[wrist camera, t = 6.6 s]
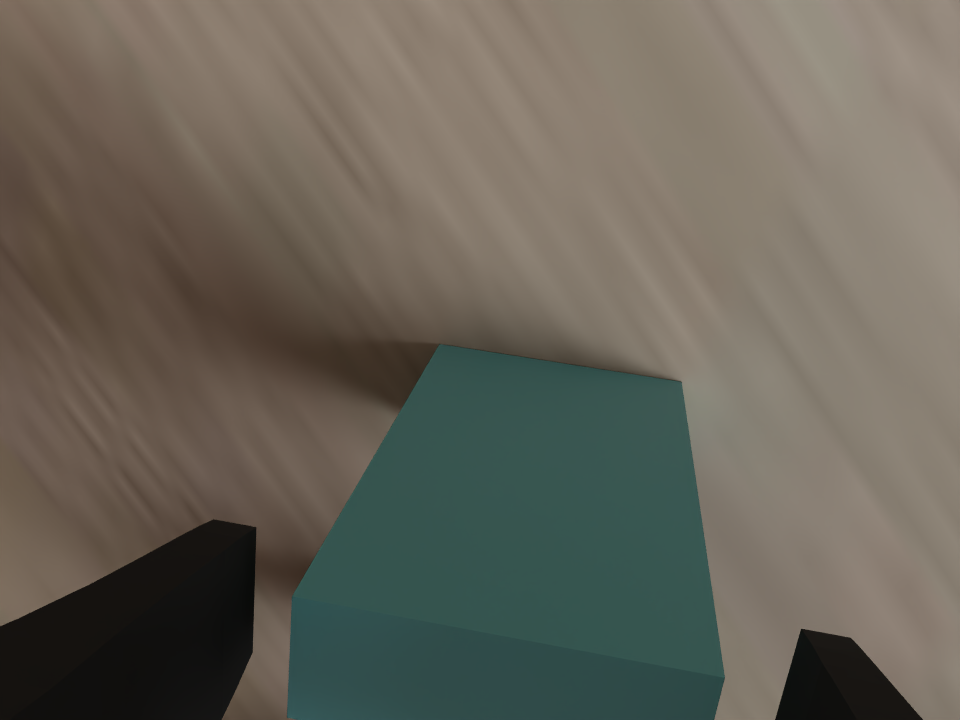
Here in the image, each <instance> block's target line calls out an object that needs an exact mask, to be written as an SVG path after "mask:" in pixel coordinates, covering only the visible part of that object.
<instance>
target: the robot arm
mask: <svg viewBox="0 0 960 720" xmlns="http://www.w3.org/2000/svg"><path fill="white" fill-rule="evenodd" d="M255 553H256V527H251V526H246V525H241V524H235V523H230V522H225V521H219V520H214V519H213V520H211V521H209V522H207V523H205V524H203V525H201V526H199V527H197V528H195V529H193V530H191V531H189V532H187V533H185V534H183V535H181V536H179V537H178V538H176V539H174V540H172V541H170V542H168V543H166V544H165V545H163V546H161V547H159V548H157V549H155V550H154V551H152V552H150V553H148V554H146V555H144V556H143V557H141V558H139V559H137V560H135V561H133V562H131V563H129V564H128V565H126V566H124V567H122V568H120V569H118V570H116V571H114V572H112V573H111V574H109V575H107V576H105V577H103V578H101V579H99V580H97V581H95V582H94V583H92V584H90V585H88V586H86V587H83V588H81V589H79V590H77V591H75V592H73V593H71V594H69V595H67V596H65V597H63V598H60V599H58V600H56V601H54V602H52V603H50V604H48V605H46V606H44V607H42V608H39V609H37V610H35V611H33V612H31V613H29V614H27V615H25V616H23V617H21V618H19V619H16V620H14V621H12V622H9V623H7V624H5V625H2V626H0V720H222V718H223V716H224V714H225V711H226V709H227V707H228V705H229V703H230V701H231V699H232V697H233V695H234V693H235V690H236V688H237V686H238V684H239V682H240V679H241V677H242V675H243V673H244V670H245V668H246V666H247V664H248V661H249V659H250V657H251V655H252V652H253V622H254V588H255ZM775 720H923V719H922V718H921V717H920V716H919V715H918V714H917V712H916V711H915V710H914V709H913V708H912V707H911V706H910V704H909V703H908V702H907V701H906V700H905V699H904V697H903V696H902V695H901V694H900V693H899V692H898V691H897V689H896V688H895V687H894V686H893V685H892V684H891V682H890V681H889V680H888V679H887V678H886V677H885V675H884V674H883V673H882V672H881V671H880V670H879V669H878V667H877V666H876V665H875V664H874V663H873V662H872V660H871V659H870V658H869V657H868V656H867V655H866V654H865V653H864V651H863V650H862V649H861V648H860V647H859V646H858V645H857V644H856V643H855V642H854V641H853V640H852V639H851V638H848V637H843V636H838V635H832V634H827V633H822V632H816V631H811V630H805V629H801V631H800V635H799V638H798V642H797V645H796V649H795V652H794V656H793V659H792V663H791V666H790V670H789V673H788V677H787V680H786V684H785V687H784V691H783V694H782V698H781V701H780V705H779V708H778V712H777V715H776V719H775Z"/></svg>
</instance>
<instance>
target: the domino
mask: <svg viewBox="0 0 960 720" xmlns="http://www.w3.org/2000/svg"><path fill="white" fill-rule="evenodd" d="M724 679H725V676H724V669H723V662H722V655H721V648H720V641H719V635H718V628H717V621H716V614H715V607H714V600H713V594H712V587H711V580H710V573H709V566H708V559H707V553H706V546H705V539H704V532H703V525H702V518H701V512H700V505H699V498H698V491H697V484H696V477H695V471H694V464H693V457H692V450H691V443H690V436H689V430H688V423H687V416H686V409H685V402H684V395H683V389H682V382H679V381H673V380H666V379H660V378H654V377H647V376H641V375H634V374H628V373H622V372H615V371H609V370H602V369H596V368H590V367H583V366H577V365H570V364H564V363H558V362H551V361H545V360H538V359H532V358H526V357H519V356H513V355H506V354H500V353H494V352H487V351H481V350H474V349H468V348H462V347H455V346H449V345H442V344H439V346H438V347H437V349H436V351H435V353H434V354H433V356H432V358H431V359H430V361H429V363H428V365H427V366H426V368H425V370H424V371H423V373H422V375H421V377H420V378H419V380H418V382H417V383H416V385H415V387H414V389H413V390H412V392H411V394H410V395H409V397H408V399H407V401H406V402H405V404H404V406H403V407H402V409H401V411H400V412H399V414H398V416H397V418H396V419H395V421H394V423H393V424H392V426H391V428H390V430H389V431H388V433H387V435H386V436H385V438H384V440H383V442H382V443H381V445H380V447H379V448H378V450H377V452H376V454H375V455H374V457H373V459H372V460H371V462H370V464H369V466H368V467H367V469H366V471H365V472H364V474H363V476H362V478H361V479H360V481H359V483H358V484H357V486H356V488H355V490H354V491H353V493H352V495H351V496H350V498H349V500H348V501H347V503H346V505H345V507H344V508H343V510H342V512H341V513H340V515H339V517H338V519H337V520H336V522H335V524H334V525H333V527H332V529H331V531H330V532H329V534H328V536H327V537H326V539H325V541H324V543H323V544H322V546H321V548H320V549H319V551H318V553H317V555H316V556H315V558H314V560H313V561H312V563H311V565H310V567H309V568H308V570H307V572H306V573H305V575H304V577H303V578H302V580H301V582H300V584H299V585H298V587H297V589H296V590H295V592H294V594H293V596H292V611H291V635H290V659H289V683H288V707H287V718H292V719H297V720H714V718H715V714H716V710H717V706H718V702H719V699H720V695H721V691H722V687H723V683H724Z"/></svg>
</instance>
